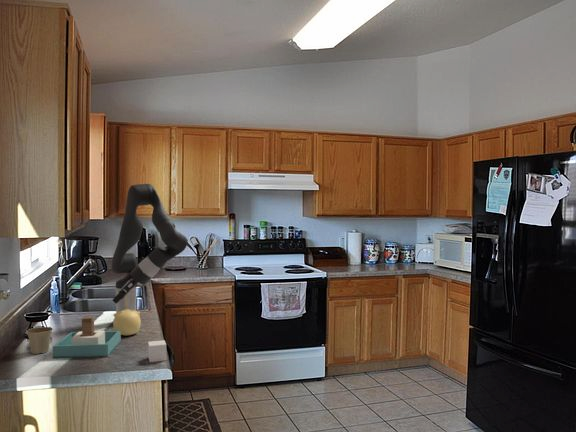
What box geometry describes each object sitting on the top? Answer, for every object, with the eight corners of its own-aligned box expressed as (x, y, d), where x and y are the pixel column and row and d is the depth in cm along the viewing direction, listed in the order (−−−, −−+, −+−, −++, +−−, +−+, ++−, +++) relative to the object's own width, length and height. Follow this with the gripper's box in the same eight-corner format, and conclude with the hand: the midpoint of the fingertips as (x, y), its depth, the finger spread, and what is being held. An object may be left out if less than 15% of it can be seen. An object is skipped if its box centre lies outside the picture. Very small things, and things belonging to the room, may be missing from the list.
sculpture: (140, 329, 231) (140, 306, 230) (141, 336, 219) (140, 311, 219) (113, 331, 227) (113, 307, 227) (113, 338, 216) (112, 313, 215)
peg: (85, 346, 202) (84, 316, 202) (94, 346, 202) (93, 316, 202) (82, 349, 198) (81, 319, 198) (92, 349, 199) (91, 318, 198)
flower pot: (56, 347, 203) (55, 326, 203) (49, 354, 194) (49, 332, 194) (31, 349, 202) (30, 327, 201) (23, 356, 192) (22, 333, 192)
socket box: (71, 343, 210) (70, 328, 209) (120, 341, 211) (120, 327, 211) (53, 358, 190) (52, 342, 189) (108, 356, 191) (107, 340, 191)
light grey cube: (164, 355, 192) (164, 340, 192) (166, 360, 186) (166, 344, 186) (148, 357, 190) (148, 341, 190) (149, 362, 184) (149, 346, 184)
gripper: (142, 261, 208) (114, 290, 208) (135, 266, 194) (105, 296, 193) (156, 274, 209) (128, 302, 208) (149, 279, 195) (119, 310, 194)
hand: (117, 299), depth 201 cm, fingers open, 8 cm apart
